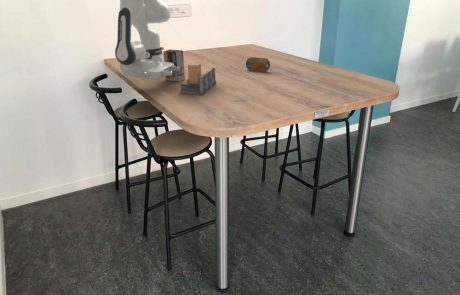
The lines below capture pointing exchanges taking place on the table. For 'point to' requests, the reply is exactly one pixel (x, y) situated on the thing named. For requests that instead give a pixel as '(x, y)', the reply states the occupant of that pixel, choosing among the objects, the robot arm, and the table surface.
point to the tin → (257, 64)
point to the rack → (205, 84)
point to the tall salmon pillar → (194, 73)
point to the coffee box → (175, 64)
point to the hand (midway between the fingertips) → (175, 71)
